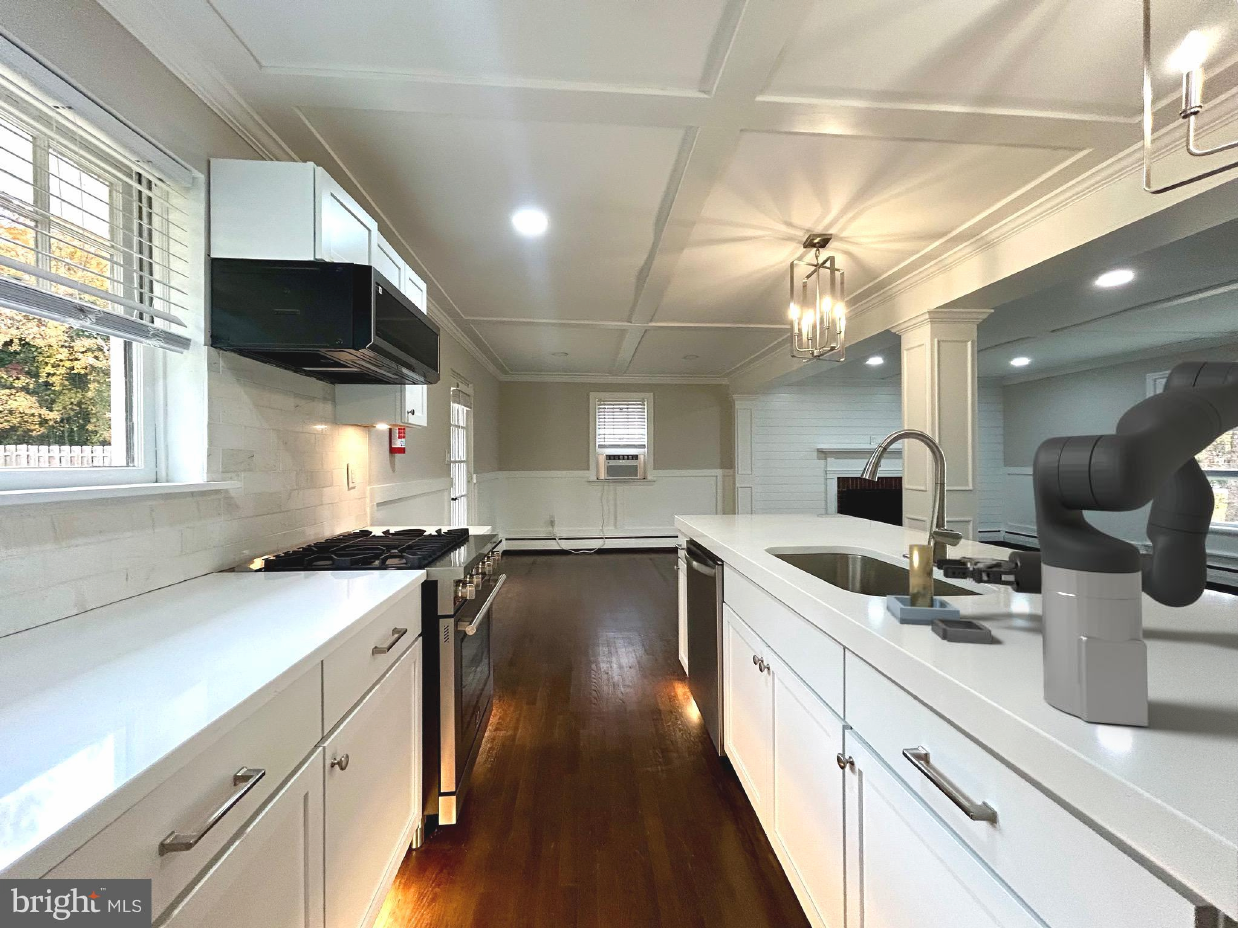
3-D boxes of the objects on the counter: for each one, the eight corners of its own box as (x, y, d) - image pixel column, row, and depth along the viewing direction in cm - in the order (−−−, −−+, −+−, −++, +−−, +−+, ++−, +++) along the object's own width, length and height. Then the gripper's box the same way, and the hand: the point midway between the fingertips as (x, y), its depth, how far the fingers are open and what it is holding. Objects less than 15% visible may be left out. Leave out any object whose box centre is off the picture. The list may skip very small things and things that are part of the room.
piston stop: (936, 615, 102) (935, 547, 102) (913, 614, 103) (912, 546, 103) (929, 610, 106) (928, 544, 106) (907, 609, 107) (906, 544, 107)
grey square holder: (994, 644, 88) (994, 632, 88) (944, 641, 90) (944, 629, 90) (975, 630, 96) (975, 619, 96) (929, 628, 97) (929, 617, 97)
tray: (960, 626, 98) (959, 610, 98) (900, 623, 101) (900, 607, 101) (940, 612, 108) (940, 597, 108) (886, 609, 110) (886, 595, 110)
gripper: (1031, 546, 103) (934, 543, 110) (1057, 558, 90) (945, 553, 96) (1031, 585, 103) (934, 580, 110) (1058, 603, 90) (946, 595, 96)
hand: (939, 567), depth 103 cm, fingers open, 8 cm apart
